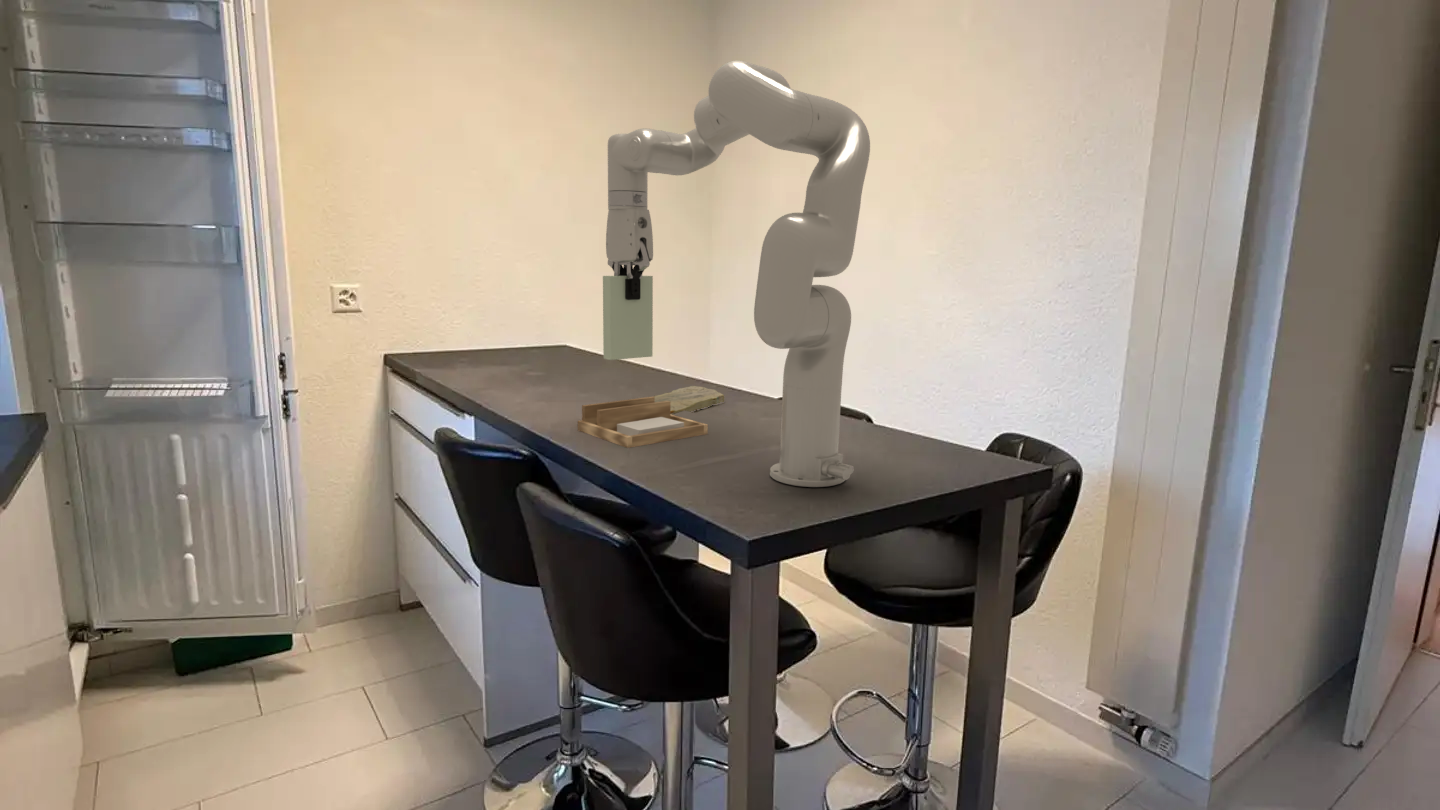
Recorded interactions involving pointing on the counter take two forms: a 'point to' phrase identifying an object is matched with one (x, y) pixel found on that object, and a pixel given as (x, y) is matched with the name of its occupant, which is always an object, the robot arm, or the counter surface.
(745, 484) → the counter surface
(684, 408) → the stone slab
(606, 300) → the pale green slab
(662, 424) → the upper offcut
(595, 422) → the tray
